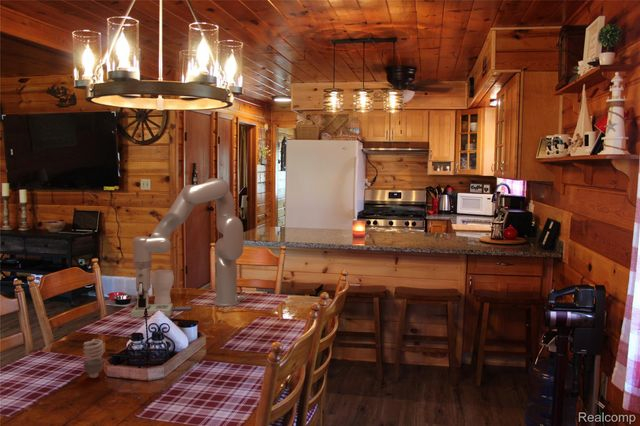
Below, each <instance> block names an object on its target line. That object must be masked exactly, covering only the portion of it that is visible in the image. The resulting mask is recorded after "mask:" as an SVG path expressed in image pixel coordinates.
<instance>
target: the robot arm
mask: <svg viewBox="0 0 640 426" xmlns="http://www.w3.org/2000/svg"><path fill="white" fill-rule="evenodd" d="M211 201H214V202H215V207H216V208H215V209H216V230H217V231H218V232H219V233H220V234H222V235H223V236H222V237H220V238H219V239H218V240H217V241H216V243H215V244H214V255H215V256H214V257H215V266H216V268H215V269H216V270H215V275H216V276H215V277H216V279H215V285H216V286H215V288H216V289H215V291H216V298H215V299H213V300H212V304H213V305H214V306H217V307H232V306H237V305H239V304H240V303H241V302H240V300H247V295H245V294H238V292H237V288H238V287H237V274H238V272H237V269H238V268H237V267H238V265H237V260H238V259H240V258H241V257H242V254H243V252H244V226H243V225H244V224H243V221H241V219H240V218H239V217H238V216H236V211H235V210H236V208H235V207H236V206H235V199H234V197H233V194H232V192H231V191H230V186H229V183H228V182H227V181H226V180H225V179H223V178H217V177H216V178H215V177H211V178H209V179H207V180H205V182H203V183H200V184H186V185H184V187H183V188H182V189H181V190H180V191H179V193H178V195H177V197H176V199H175V200H174V202H173V203H172V205H171V207H170V208H169V210H168V212H166V214H165V215H164V216H163V218H162V219H161V220H160V221H159V222H158V224H157V225H156V227H154V230H153V231H152V233H151V235H150V236H146V235H143V236H136V237H134V238H133V240H132V249H133V251H132V254H133V261H132V263H133V265H132V266H133V267H132V268H133V269H134V270H135V291H136V292H137V293H138V307H139V308H144V307H146V298H145V292H148V293H149V291H150V289H151V288H152V284H151V270H150V269H152V268H153V267H152V265H153V264H152V263H153V262H152V259H153V258H152V253H153V254H164V253H167V252H168V251H169V250H171V249H170V248H171V245H172V244H171V241H170V239H169V238H170V236H171V235H172V234H173V232H174V231H175V230H176V228H179V227H180V226H181V225H183V224H184V223H186V221H187V219H188V217H189V216H190V214H191V212H193V209H194V208H195V206H196V205H200V204H204V203H208V202H211ZM143 293H144V294H143Z"/></svg>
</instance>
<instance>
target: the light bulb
mask: <svg viewBox="0 0 640 426" xmlns="http://www.w3.org/2000/svg"><path fill="white" fill-rule="evenodd" d="M82 348H83V351H82V352H83V357H85V358H86V359H85V361H84V363H83V368H84V372H85V373H86V374H89V376H88V377H90V378H91V379H96V378H98V377H99V373H100V372H102V371H103V369H104V360H103V359H102V357H103V356H104V355H103V354H104V343H103V340H101V339H100V338H99V339H98V338H93V339H92V340H91V341H85V342H83V346H82Z"/></svg>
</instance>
